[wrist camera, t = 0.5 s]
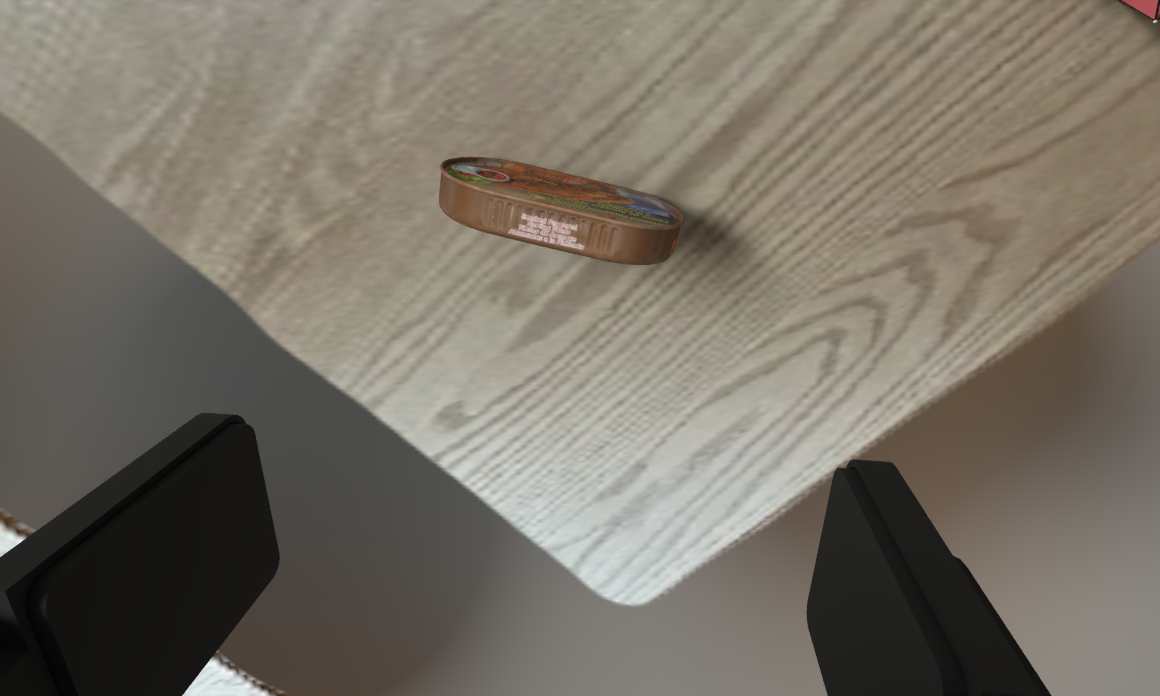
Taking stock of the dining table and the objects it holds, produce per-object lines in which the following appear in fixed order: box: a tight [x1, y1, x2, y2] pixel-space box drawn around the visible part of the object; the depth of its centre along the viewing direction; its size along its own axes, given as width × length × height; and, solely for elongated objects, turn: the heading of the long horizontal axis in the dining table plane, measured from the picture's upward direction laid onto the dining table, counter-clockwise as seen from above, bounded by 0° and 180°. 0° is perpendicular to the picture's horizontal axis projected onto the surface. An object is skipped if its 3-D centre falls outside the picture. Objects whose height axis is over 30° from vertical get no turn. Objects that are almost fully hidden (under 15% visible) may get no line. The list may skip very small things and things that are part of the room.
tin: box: [439, 157, 684, 265], centre depth 39 cm, size 15×3×8 cm, turn 78°
